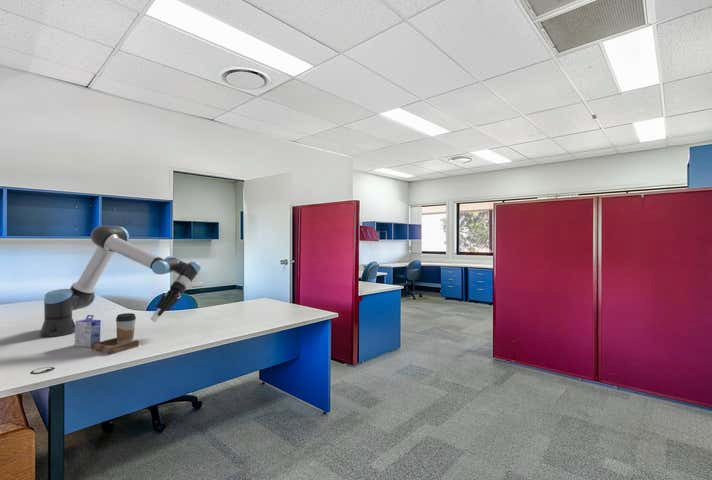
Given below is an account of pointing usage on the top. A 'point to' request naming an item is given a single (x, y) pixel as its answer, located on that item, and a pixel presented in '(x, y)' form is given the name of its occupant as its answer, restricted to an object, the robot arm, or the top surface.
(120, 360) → the top surface
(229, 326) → the top surface
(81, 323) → the ink cartridge box
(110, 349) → the walnut bay
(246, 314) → the top surface
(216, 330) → the top surface
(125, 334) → the coffee cup
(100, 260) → the robot arm
